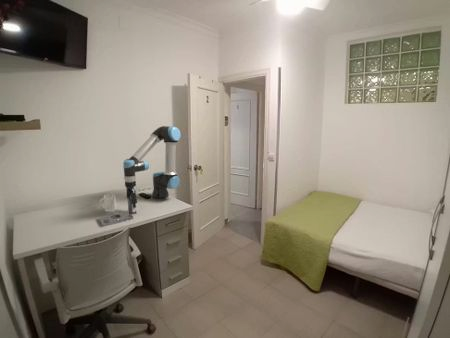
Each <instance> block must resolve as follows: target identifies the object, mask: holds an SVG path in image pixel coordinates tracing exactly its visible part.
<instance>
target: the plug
mask: <svg viewBox="0 0 450 338" xmlns="http://www.w3.org/2000/svg"><path fill="white" fill-rule="evenodd" d="M131 203H132V199H131V196H130V198H128V199H127V209H128V210H127V211H128V212H129V213H130V214H131V215H132V216H133V215H135V214H137V210H136V211H135V212H132V204H131Z"/></svg>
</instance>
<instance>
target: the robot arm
mask: <svg viewBox="0 0 450 338" xmlns="http://www.w3.org/2000/svg"><path fill="white" fill-rule="evenodd" d="M180 139H181V130H180V129H179V128H178V127H176V126H167V125H166V126H165V125H162V126H160V127H158V128H156V129H155V130H154V131H153V132H152V133H150V137H148V139H146V141H145V142H144V143H143V144H141V146H140V147H139V148H138V149H137V150H136V151H135V152H134V153H133V154H132V155H131V156H130V158H126V159H124V161H123V163H122V164H123V166H122V167H123V175H124V177H123V180H124V186H125V187H126V199H127V200H128V198H130V196H131V199H132V203H131V204H132V212H135V211H136V212H137V203H138V199H137V195H136V194H137V193H136V191H137V190H135V188H134V187H136V186H137V182H136V180H137V178H136V173H138V172H144V171H147V170H149V168H150V163H149V161H147V160H143V159H144V158H145V156H147V154H148V153H149V152H150V151H152V149H153V148H154V147H155V146H156V145H157V144H159V143H160V142H162V141H163V143H164V144H165V152H164V153H165V161H164V162H165V167H164V168H165V169H164V171H156V172H154V173H153V174H152V182H153V183H152V185H153V189H152V193H151V198H153V199H155V200H162V199H166V198H168V197H169V196H170V195H169V194H170V193H169V190H168V189H170V190H175V189H176V188H177V187H178V186H179V184H180V181H181V180H180V177H178V173H177V171H176V159H177V158H176V153H177V152H176V150H177V149H176V148H177V147H176V146H177V144H178V141H179V140H180Z"/></svg>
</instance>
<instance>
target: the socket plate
mask: <svg viewBox="0 0 450 338" xmlns="http://www.w3.org/2000/svg"><path fill="white" fill-rule="evenodd" d="M131 219H132V220H134V216H133V214H132V215H131V214H130V213H129V211H128V210H123V211H119V212H114V213H109V214H105V215H100V216H97V220H98V221H99V223H100V225H101V226H102V227H104V228H105V227H107V226H112V225H115V224H119V223H122V222H128V221H130V220H131ZM127 220H128V221H127Z"/></svg>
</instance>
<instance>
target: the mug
mask: <svg viewBox="0 0 450 338" xmlns="http://www.w3.org/2000/svg"><path fill="white" fill-rule="evenodd" d="M116 197H117V196H116V194H115V193H107V194H104V195H103V197H102V198H101V199H100V200H99V203H101V202H102V201H103V200H104V201H103V202H104V205H101V204H99V206H100V207H101V208H103V209H104V211H105V212H108V213H109V212H111V213H112V212H114V211H117V209H118V207H117V199H116Z"/></svg>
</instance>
